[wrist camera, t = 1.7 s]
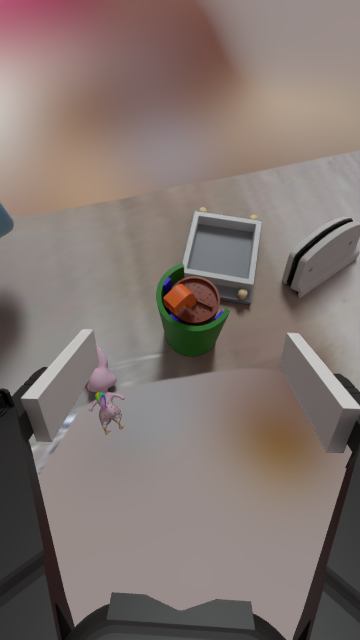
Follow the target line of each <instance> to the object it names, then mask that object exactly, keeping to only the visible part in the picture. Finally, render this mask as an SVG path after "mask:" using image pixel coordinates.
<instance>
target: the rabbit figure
mask: <svg viewBox="0 0 360 640" xmlns="http://www.w3.org/2000/svg"><path fill="white" fill-rule="evenodd" d="M96 347H97V353H98V359H99V364H98V365H97V368H96V369H95V370H94V372H93V374H92V375H91V377H90V379H89V380H88V386H87V388H88V390H89V391H91V392H98V393H96V394H95V398H96V400H95V401H94V402H93V403H92V405H91V406H90V408H89V411H92V410H93V407H94V405H96V404H97V403H98V404H99V405H100V406H101V409H100V412H99V418H100V421H101V423H102V426H103V429H104V430H105V433H106V435H107V434H108V433H109V432H110V431H106V427H107V425H108V424H109V423H110V422H111V420H114V421H115V422H117V423H118V424H119V426H120V427H119V428H120V429H122V428H123V427H124V426H121V425H120V420H121V416H122V415H121V411H120V410H119V408H117V407H116V406H115V405H114V404H113V402H112V398H113V397H119V398H121V399H122V400H124V399H125V398H124V396H122V395H120V394H117V393H110V392H108V391H107V389H108V388H110V387H112V386H113V385H114V384H115V383H116V380H117V379H116V377H115V376H114V375H113V374H112V373H111V372H110V371H109V370H108V361H107V359H106V357H105V355H104V353H103V351H102V350H101V349H100V347H99V346H97V345H96Z"/></svg>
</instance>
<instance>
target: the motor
mask: <svg viewBox="0 0 360 640" xmlns="http://www.w3.org/2000/svg"><path fill="white" fill-rule="evenodd" d="M156 300H157V305H158V309H159V313H160V316H161V320H162V324H163V328H164V331H165V335H166V339H167V341H168V343H169V345H170V346H171V347H172V348H173V349H174V350H175V351H176V352H178V353H180V354H182V355H185V356H198V355H202V354H204V353H206V352H207V351H209V350H210V349H211V348H212V347H213V345H214V344H215V342H216V340H217V338H218V336H219V334H220V331H221V329H222V327H223V325H224V323H225V321H226V319H227V317H228V314H229V312H230V311H229V310H227V309H225V310H224V312H222V311H221V312H220V313H219V314H218V315H217V316H216V314H217V311H218V308H219V305H220V295H219V292H218V289H217V288H216V286H215V285H214V284H213V283H212V282H211V281H209V280H207V279H205V278H203V277H199V276H190V277H186V278H184V264H183V263H181V264H178V265H176V266H174V267H172V268H171V269H169V270H168V271H167V272H166V273H165V274H164V275H163V277H162V278H161V280H160V282H159V284H158V287H157V291H156Z"/></svg>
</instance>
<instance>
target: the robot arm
mask: <svg viewBox="0 0 360 640" xmlns="http://www.w3.org/2000/svg"><path fill="white" fill-rule="evenodd" d="M13 227H14V223H13V220H12V218H11V217H10V215H9V214H8V212H7V211H6V210H5V208H4V207H3V206H2V204H1V203H0V238H1V237H3V236H4V235H6V234H7V233H9V232H10V231H11V230H12V229H13ZM98 364H99V359H98V353H97V347H96V342H95V336H94V331H93V329H82V330H81V331H80V333H79V334H78V335H77V336H76V337H75V338H74V339H73V340H72V341H71V343H70V344H69V345H68V346H67V347H66V348H65V349H64V350H63V352H62V353H61V354H60V355H59V356H58V357H57V358H56V359H55V360H54V362H53V363H52V364H51V365H50V366H49V367H43V368H41V369H39V370H38V371H36V372H35V373H34V374H33V375H32V376H31V377H30V378H29V380H27V381H26V382H25V383H24V385H22V386H21V387H20V388H19V389H18V390H17V392H16V393H15V394H14V395H13V396H12V397H11V395H10V392H9V391H8V390H7V389H0V640H286V639H285V638H284V637H283V636H282V635H281V634H280V633H279V632H278V631H277V630H276V629H275V628H274V627H273V626H271V625H270V624H269V623H268V622H267V621H265V620H263V619H262V618H260V617H259V616H257V615H255V614H253V612H252V605H251V602H250V601H235V600H220V599H216V600H213V601H210V602H207V603H204V604H201V605H198V606H195V607H192V608H189V609H186V610H182V611H179V610H176V609H174V608H172V607H170V606H168V605H166V604H164V603H162V602H160V601H157V600H155V599H153V598H151V597H149V596H147V595H143V594H128V593H113V592H112V594H111V599H110V604H108V605H105V606H103V607H101V608H99V609H97V610H95V611H94V612H92V613H91V614H89V615H88V616H87V617H85V618H84V619H83V620H82V621H81V622H80V623H79V624H78V625H77V626H76V627H74V623H73V620H72V616H71V612H70V609H69V606H68V603H67V599H66V596H65V592H64V588H63V583H62V580H61V575H60V571H59V567H58V562H57V558H56V553H55V549H54V545H53V540H52V536H51V532H50V527H49V524H48V519H47V515H46V510H45V506H44V502H43V498H42V493H41V489H40V484H39V480H38V476H37V471H36V467H35V463H34V459H33V454H32V450H31V446H30V443H29V439H30V437H31V436H32V434H33V433H34V436H35V438H36V441H41V442H52V441H53V439H54V438H55V436H56V434H57V433H58V431H59V429H60V427H61V426H62V424H63V422H64V421H65V419H66V417H67V416H68V414H69V412H70V411H71V409H72V407H73V406H74V404H75V402H76V401H77V399H78V397H79V396H80V394H81V392H82V391H83V389H84V387H85V386H86V384H87V382H88V380H89V379H90V377H91V375H92V374H93V372H94V370H95V369H96V367H97V365H98ZM280 368H281V370H282V372H283V374H284V376H285V378H286V379H287V381H288V383H289V385H290V387H291V388H292V390H293V392H294V394H295V396H296V398H297V399H298V401H299V403H300V405H301V407H302V409H303V411H304V412H305V414H306V416H307V418H308V420H309V421H310V423H311V425H312V427H313V429H314V431H315V432H316V434H317V436H318V438H319V440H320V442H321V443H322V445H323V447H324V449H325V451H326V452H327V453H344V450H345V448H346V446H347V444H348V446H349V447H350V449H351V451H352V454H351V457H350V459H349V461H348V463H347V465H346V468H347V469H346V472H345V476H344V479H343V482H342V486H341V489H340V492H339V496H338V498H337V502H336V505H335V508H334V512H333V515H332V518H331V521H330V525H329V528H328V531H327V534H326V538H325V541H324V544H323V547H322V551H321V554H320V557H319V561H318V564H317V567H316V570H315V574H314V577H313V580H312V583H311V587H310V590H309V593H308V596H307V600H306V603H305V606H304V610H303V612H302V615H301V618H300V621H299V623H298V626H297V628H296V631H295V634H294V637H293V640H360V392H359V391H358V390H357V388H355V386H354V385H353V384H352V383H351V382H350V381H349V380H348V379H347V378H345V377H344V376H342V375H341V374H332V372H331V371H330V370H329V369H328V368H327V366H326V365H325V364H324V363H323V362H322V361H321V359H320V358H319V357H318V356H317V355H316V353H315V352H314V351H313V350H312V349H311V347H310V346H309V345H308V344H307V343H306V341H305V340H304V339H303V338H302V337H301V336H300V334H299V333H287V334H286V339H285V344H284V348H283V353H282V358H281V363H280Z"/></svg>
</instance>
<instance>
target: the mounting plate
mask: <svg viewBox="0 0 360 640" xmlns="http://www.w3.org/2000/svg"><path fill="white" fill-rule="evenodd" d="M257 219H258V217H257V216H256V215H251V216H250V219H248V218H241V217H235V216H228V215H221V214H215V213H208V212H207V209H206V208H204V207H202V208H200V209H199V211H194V215H193V220H192V224H191V228H190V232H189V236H188V240H187V244H186V248H185V252H184V256H183V260H182V263H183V264H184V278H186V277H190V276H199V277H203V278H205V279H207V280H209V281H211V282H212V283H213V284H214V285H215V286H216V288H217V289H218V292H219V295H220V300H225V301H231V302H236V303H242V304H247V305H250V304H251V300H252V292H253V284H254V277H255V269H256V261H257V253H258V246H259V238H260V230H261V222H262V220H257Z"/></svg>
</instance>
